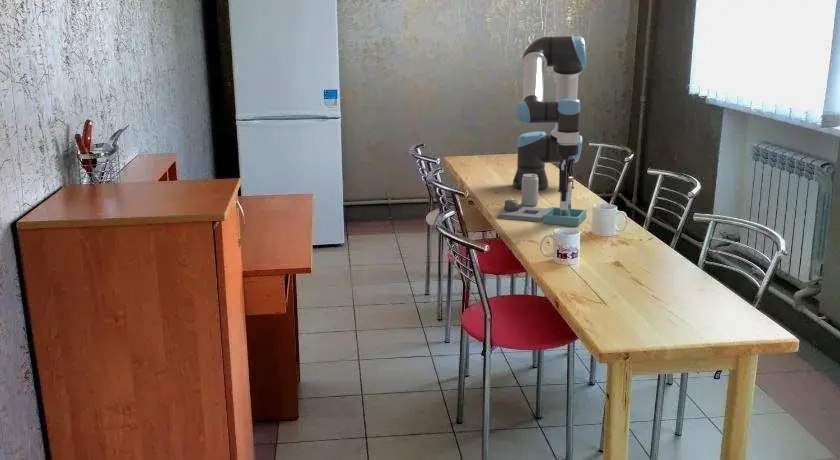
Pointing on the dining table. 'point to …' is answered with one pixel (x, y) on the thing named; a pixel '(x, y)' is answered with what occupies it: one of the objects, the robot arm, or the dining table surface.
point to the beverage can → (529, 190)
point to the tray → (564, 217)
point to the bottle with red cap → (568, 212)
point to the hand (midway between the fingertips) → (565, 207)
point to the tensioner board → (522, 212)
